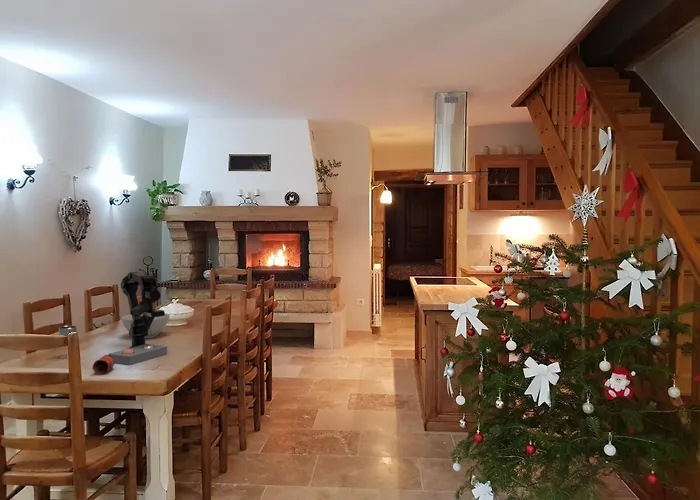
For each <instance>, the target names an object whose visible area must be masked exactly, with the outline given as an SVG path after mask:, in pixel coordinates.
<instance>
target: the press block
mask: <svg viewBox="0 0 700 500" xmlns="http://www.w3.org/2000/svg"><path fill="white" fill-rule="evenodd" d="M148 345H152V346H153V348H150V349H145V348H144V346H148ZM126 349H127V348H125V349H122V350H118V351H115V352H111V353H108V355H112V356H113V357H114V359H115V364H120V365H127V366H132V365H136V364H138V363H143V362H146V361H148V360H152V359H154V358H155V359H156V358H159V357H162V356H165V355H168V346H166V345H158V344H149V343H145V344H144V345H140V346H137V347H133V348H130V347H128V349H133V353H131V354H123V350H126Z"/></svg>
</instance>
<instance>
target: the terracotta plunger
mask: <svg viewBox="0 0 700 500" xmlns="http://www.w3.org/2000/svg"><path fill="white" fill-rule="evenodd" d="M125 349H126V350H125ZM125 349H122V350H123V354H131V353H133V349H129V348H125Z"/></svg>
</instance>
